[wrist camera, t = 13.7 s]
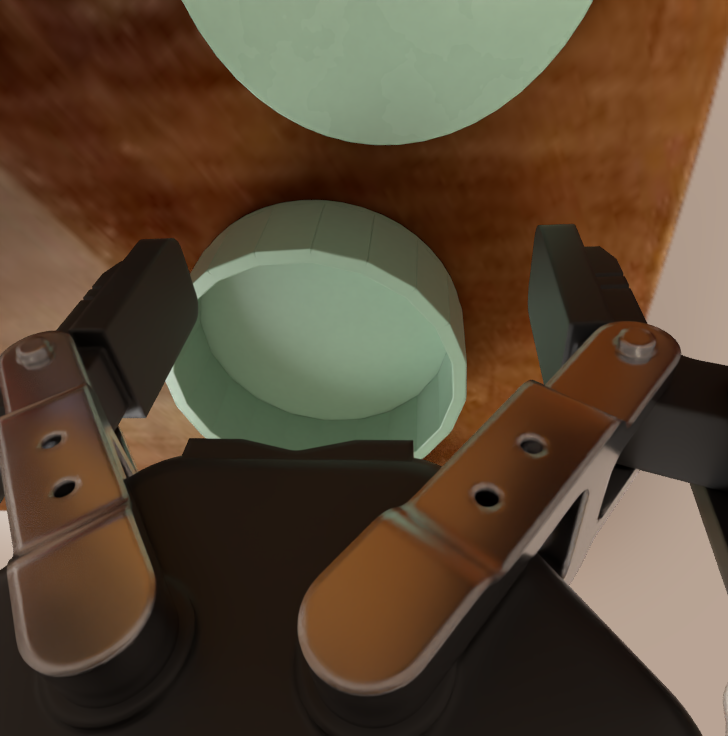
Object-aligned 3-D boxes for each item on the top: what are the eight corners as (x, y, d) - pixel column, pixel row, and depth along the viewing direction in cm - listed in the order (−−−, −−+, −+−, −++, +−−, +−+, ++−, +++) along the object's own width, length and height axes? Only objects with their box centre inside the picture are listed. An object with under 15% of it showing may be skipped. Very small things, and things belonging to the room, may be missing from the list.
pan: (231, 423, 39) (209, 482, 35) (152, 210, 29) (111, 260, 25) (461, 419, 37) (465, 481, 33) (462, 188, 27) (468, 239, 23)
